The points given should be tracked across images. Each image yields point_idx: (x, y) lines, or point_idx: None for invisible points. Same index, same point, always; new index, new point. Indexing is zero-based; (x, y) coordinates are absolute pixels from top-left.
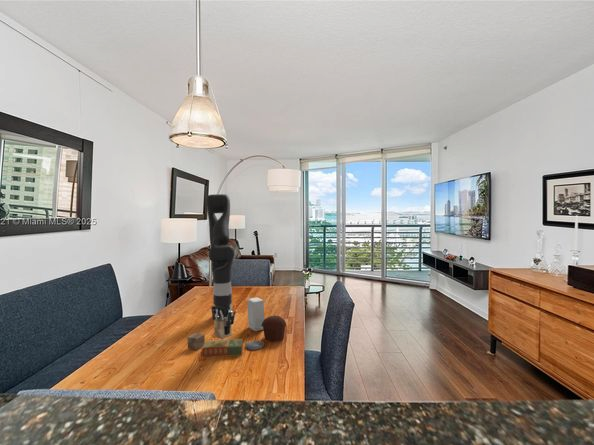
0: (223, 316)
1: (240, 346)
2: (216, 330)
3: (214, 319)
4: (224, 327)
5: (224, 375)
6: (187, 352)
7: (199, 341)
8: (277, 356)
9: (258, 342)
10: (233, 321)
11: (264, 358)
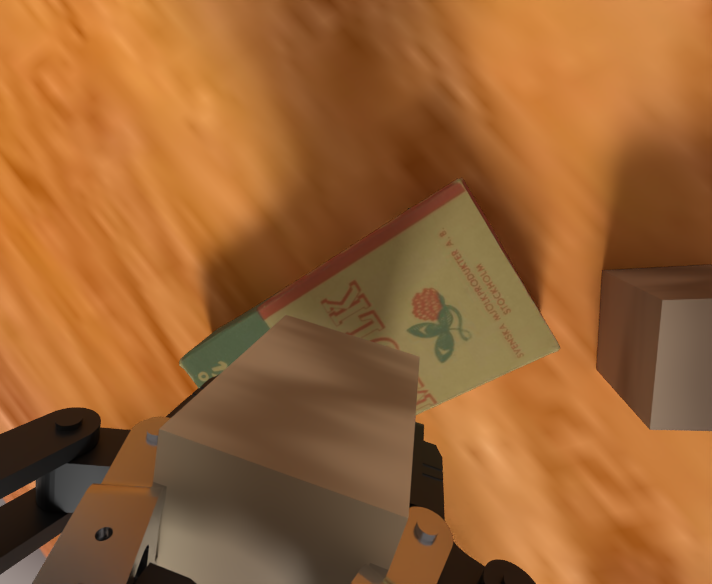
0: (46, 569)
1: (183, 358)
2: (367, 381)
3: (484, 576)
4: None
5: (102, 27)
6: (670, 195)
7: (633, 326)
8: (32, 393)
9: None
10: (7, 515)
11: (69, 346)
